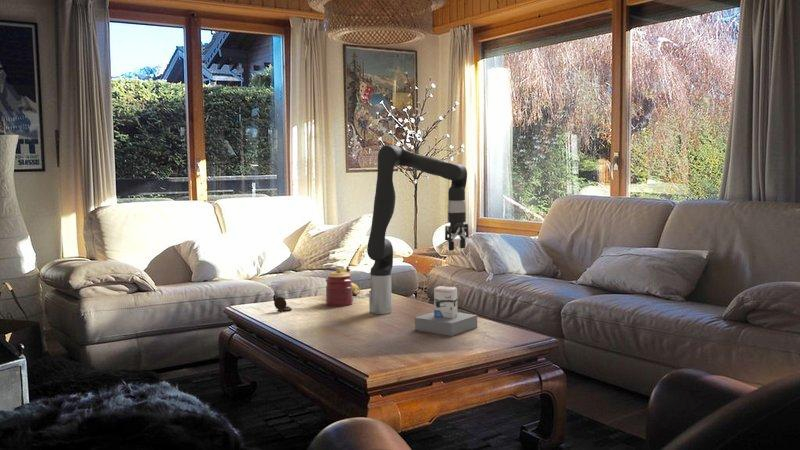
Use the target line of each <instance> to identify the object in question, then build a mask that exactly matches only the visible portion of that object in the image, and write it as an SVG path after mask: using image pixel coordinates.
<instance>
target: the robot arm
mask: <svg viewBox="0 0 800 450" xmlns="http://www.w3.org/2000/svg"><path fill="white" fill-rule="evenodd" d="M396 166H398V167H408V168H413V169H415V170H418V171H420V172H422V173H425V174H429V175H431V176H438V177H441V178H442V179H445V180H449V181H451V183H450V184H451V185H450V187H449V188H448V192H447V193H448V196H447V197H448V203H447V222H448V223H449V225H446V226H445V227H444V229H445V230H444V231H445V232H444V240H445V241H447V243H448V250H449V251H454V250H455V240H456V238H457V236H458V237H459V248H460V249H466V240H467V239H468V238H469V232H470V231H469V224H468V223H466V219H467V216H466V215H467V213H466V211H467V210H466V208H467V207H466V206H467V205H466V187H467V182H468V181H467V180H468V170H467V167H466V166H465V165H464V164H461V163H452V162H447V161H444V160H442V159H439V158H436V157H430V156H426V155H421V154H417V153H414V152H411V151H408V150H406V149H404V148H401V147H399V146H398V145H393V144H386V145H383V146H381V147H380V149H379V150H378V153H377V173H376V174H377V175H376V184H375V185H376V186H375V194H374V200H373V201H374V202H373V210H372V220H371V227H370V233H369V237H368V242H367V246H366V252H367V255H368V257H369V259H371V260H372V261H374V263H373V264H372V267H371V268H370V291H369V292H368V294H369V297H368V298H369V300H368V302H369V304H368V305H369V312H370V313H371V314H375V315H388V314H391V313H392V308H393V307H392V304H393V303H392V300H393V299H392V270H393V265H394V263H393V262H394V247H393V244H392V241H390V240H389V239H387V238H386V233H387V229H388V226H389V225H390V222H391V219H392V218H393V215H394V214H395V213H394V211H395V209H396V208H395V206H396V190H395V185H394V181H393V179H394V178H393V177H394V176H393V175H394V170H395V167H396Z"/></svg>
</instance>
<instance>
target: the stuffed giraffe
mask: <svg viewBox="0 0 800 450" xmlns="http://www.w3.org/2000/svg"><path fill="white" fill-rule="evenodd" d="M341 270H342V271H344V272H348V273H349V274H351V273H350V272H351V269H350V266H349V265H348V266H346V267H345V268H343V269H342V268H341ZM352 286H353V287H352V294H353V299H361V298H362V299H363V298H369V293H366V294H363V295H362V296H360V294H362V293H363V292H361V290H360V287H359V285H357V284H356V283H354V282H352ZM358 295H359V296H358Z"/></svg>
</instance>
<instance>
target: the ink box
mask: <svg viewBox="0 0 800 450" xmlns="http://www.w3.org/2000/svg"><path fill="white" fill-rule="evenodd" d="M433 306H434V307H433V312H434V316H435V317H445V318H454V317H456V316H457V312H458V288H457V286H456V287H455V286H443V285H438V286H436V287H434V288H433Z"/></svg>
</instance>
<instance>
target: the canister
mask: <svg viewBox="0 0 800 450" xmlns="http://www.w3.org/2000/svg"><path fill="white" fill-rule="evenodd" d="M351 275H352V274H351V273H350V274H349V273H348V272H344V271H342V268H341V267H337V268H336V270H335V271H332V272H330V273H328V274H327V278H326V279H325V282H326V286H325V294H326V295H325V298H326V299H325V303H326V305H327V306H329V307H348V306H351V305H353V303H354V298H353V297H354V296H353V294H352V287H353V286H352V283H353V282H352V281H353V278H352V277H351Z"/></svg>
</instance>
